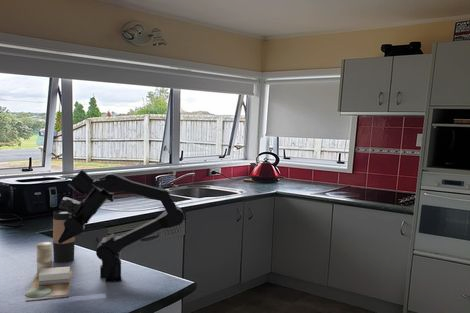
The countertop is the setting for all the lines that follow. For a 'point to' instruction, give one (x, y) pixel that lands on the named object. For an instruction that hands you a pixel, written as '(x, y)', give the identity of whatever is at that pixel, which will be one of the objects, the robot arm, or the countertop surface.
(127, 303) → the countertop surface
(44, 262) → the roller
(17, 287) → the countertop surface
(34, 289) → the wooden board
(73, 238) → the travel mug
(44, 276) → the slab
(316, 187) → the countertop surface
